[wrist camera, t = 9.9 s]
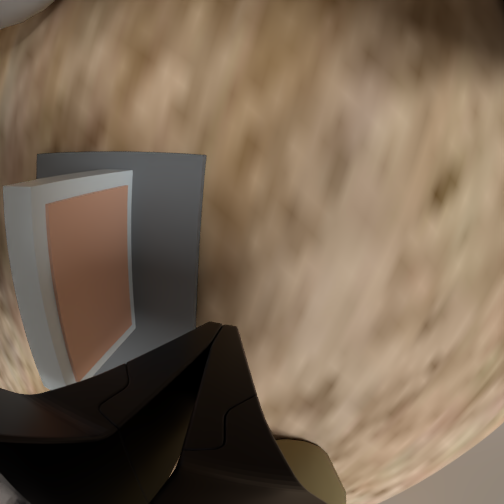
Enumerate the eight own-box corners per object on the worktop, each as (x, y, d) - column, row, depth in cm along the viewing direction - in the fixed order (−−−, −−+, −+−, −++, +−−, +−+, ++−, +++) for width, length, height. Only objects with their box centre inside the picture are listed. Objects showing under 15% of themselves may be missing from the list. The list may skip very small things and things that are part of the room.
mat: (206, 155, 12) (203, 155, 12) (195, 405, 16) (193, 409, 16) (41, 153, 13) (37, 154, 13) (66, 360, 17) (63, 363, 17)
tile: (138, 328, 15) (74, 402, 9) (111, 320, 15) (43, 386, 9) (135, 170, 12) (33, 187, 6) (104, 169, 12) (2, 185, 7)
